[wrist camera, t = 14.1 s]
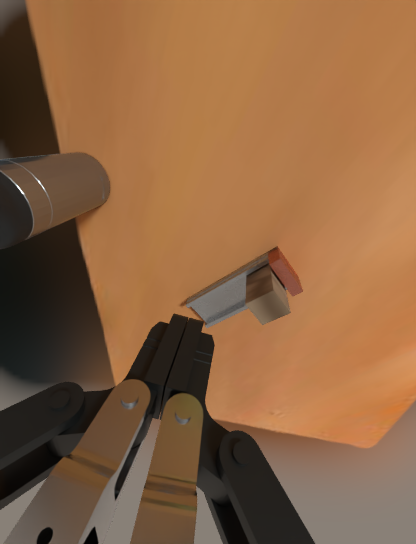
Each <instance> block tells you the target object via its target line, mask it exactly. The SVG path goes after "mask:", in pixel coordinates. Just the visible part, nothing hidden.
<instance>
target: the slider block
mask: <svg viewBox="0 0 416 544" xmlns="http://www.w3.org/2000/svg"><path fill="white" fill-rule="evenodd" d="M245 305H246V306H247V307H248V308H249V309H250V311H251V312H252V313H253V314H254V315H255V317H256V318H257V319H258V320H259V321H260V323H261V324H262V325H264V324H266V323H268V322H271V321H273V320H275V319H278V318H280V317H282V316H285V315H287V314H289V313H291V312H290V308H289V303H288V299H287V294H286V289H285V286H284V284H283V283H282V281H281V280H280V279H279V277H278V276H277V275H276V273H275V272H274V270H273V269H272V268H271V266H270V265H269V263H268V264H266V265H264V266H262V267H260V268H259V269H257V270H255V271H253V272H251V273H250V274H248V275H246V299H245Z"/></svg>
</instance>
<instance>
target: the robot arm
mask: <svg viewBox="0 0 416 544" xmlns="http://www.w3.org/2000/svg"><path fill="white" fill-rule="evenodd" d="M109 193H110V183H109V179H108V176H107V174H106V172H105V170H104V168H103V167H102V166H101V164H100V163H99V162H98V161H97V160H96V159H94V158H93V157H91V156H89V155H87V154H84V153H66V154H54V155H43V156H32V157H22V158H11V159H1V160H0V249H4V248H8V247H10V246H13V245H15V244H18V243H20V242H22V241H24V240H26V239H29V238H31V237H33V236H35V235H37V234H39V233H42V232H44V231H46V230H48V229H50V228H52V227H54V226H57V225H59V224H61V223H63V222H65V221H67V220H70V219H72V218H74V217H76V216H79V215H81V214H83V213H85V212H87V211H90V210H92V209H94V208H96V207H98V206H100V205H102V204H104V203H105V202H106V200H107V199H108V196H109ZM203 323H204V321H200V320H196V319H193V318H189V320H188V317H185V316H181V315H177V314H173V316H172V318H171V320H170V323H169V324H168V323H164V322H159V323H157V324H156V325H155V326H154V327H152V329H151V330H150V332H149V334H148V336H147V339H146V340H145V342H144V344H143V346H142V348H141V350H140V351H139V353H138V355H137V357H136V359H135V361H134V363H133V365H132V367H131V369H130V371H129V373H128V374H127V376H126V378H125V379H124V380H123V381H122V382H121V383H119V384H118V385H117V386H115V387H113V388H111V389H108V390H103V391H87V392H83V389H82V388H81V387H80V386H79V385H78V384H76V383H72V382H64V383H59V384H56V385H54V386H52V387H50V388H48V389H46V390H44V391H42V392H39V393H37V394H35V395H33V396H31V397H29V398H27V399H25V400H23V401H21V402H19V403H17V404H14V405H12V406H10V407H8V408H6V409H4V410H2V411H0V510H1V509H2V508H4V507H5V506H7V505H8V504H9V503H11V502H12V501H14V500H15V499H17V498H18V497H20V496H21V495H22V494H24V493H25V492H27V491H28V490H30V489H31V488H32V487H34V486H35V485H37V484H38V483H40V482H41V481H43V480H44V479H46V478H47V479H46V480H45V482H44V483H43V485H42V486H41V488H40V489H39V491H38V492H37V494H36V496H35V497H34V498H33V500H32V501H31V503H30V504H29V506H28V507H27V509H26V510H25V512H24V513H23V515H22V516H21V518H20V519H19V521H18V522H17V524H16V525H15V527H14V528H13V530H12V531H11V533H10V534H9V536H8V537H7V539H6V540H5V542H4V543H3V544H103V542H104V540H105V537H106V535H107V532H108V530H109V528H110V525H111V522H112V519H113V517H114V514H115V510H116V507H117V504H118V501H119V499H120V496H121V493H122V492H123V489H124V487H125V485H126V482H127V480H128V478H129V475H130V473H131V470H132V468H133V466H134V463H135V461H136V459H137V456H138V454H139V452H140V449H141V447H142V445H143V442H144V440H145V437H146V435H147V432H148V429H149V427H150V424H151V421H152V418H155V419H159V415H160V412H161V416H160V420H161V423H160V427H159V431H158V435H157V439H156V443H155V448H154V451H153V456H152V460H151V464H150V468H149V472H148V476H147V480H146V483H145V486H144V490H143V494H142V498H141V501H140V505H139V509H138V513H137V518H136V521H135V526H134V529H133V533H132V538H131V542H130V544H194V536H195V524H196V513H197V493H196V486H197V487H198V488H200V489H201V490H202V491H203V492H204V494H205V497H206V500H207V503H208V505H209V508H210V510H211V513H212V516H213V518H214V521H215V524H216V526H217V529H218V532H219V534H220V537H221V540H222V542H223V544H315V543H314V541H313V539H312V537H311V536H310V534H309V532H308V531H307V529H306V527H305V526H304V524H303V522H302V520H301V519H300V517H299V515H298V513H297V512H296V510H295V508H294V507H293V505H292V503H291V501H290V500H289V498H288V496H287V495H286V493H285V491H284V489H283V488H282V486H281V484H280V482H279V481H278V479H277V477H276V476H275V474H274V472H273V471H272V469H271V467H270V465H269V463H268V462H267V460H266V458H265V457H264V455H263V453H262V451H261V450H260V448H259V446H258V445H257V443H256V442H255V440H254V439H253V438H252V437H251V436H250V435H248V434H247V433H245V432H243V431H232V432H229V431H227V430H226V429H225V428H223V427H222V426H220V425H219V424H218V423H216V422H215V421H214V420H213V419H212V418H211V416H210V415H209V413H208V411H207V409H206V405H205V396H206V390H207V385H208V379H209V373H210V368H211V362H212V356H213V351H214V341H213V338H212V335H209V334H205V333H202V332H201V331H202V327H203ZM161 409H162V410H161Z"/></svg>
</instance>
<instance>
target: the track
mask: <svg viewBox="0 0 416 544" xmlns="http://www.w3.org/2000/svg"><path fill="white" fill-rule="evenodd" d="M268 263H269V265H270V266H271V268H272V269H273V270H274V272H275V273H276V275H277V276H278V277H279V279H280V280H281V281H282V283H283V284H284V286H285V289H286V290H288V291H289V292H290V294H291V295H292V296H295V295H297V294H299V293H301V292H303V289H302V286H301V283H300V280H299V277H298V275H297V274H296V273H295V271H294V270H293V268H292V267H291V265H290V264H289V262H288V261H287V260H286V258H285V257H284V255H283V254H282V252H281V251H280V249H279V248H278V246H277V247H275V248H274V249H272V250H270V251H268V252H267V253H265V254H263V255H262V256H260V257H258V258H256V259H255V260H253V261H251V262H249V263H248V264H246V265H244V266H243V267H241V268H239V269H237V270H236V271H234V272H232V273H231V274H229V275H227V276H225V277H224V278H222V279H220V280H219V281H217V282H215V283H213V284H212V285H210V286H208V287H206V288H205V289H203V290H201V291H200V292H198V293H196V294H194V295H193V296H191V297H189V298H188V299H187V303H186V306H187V307H188V308H189V307H192V308H193V309H194V310H195V311H196V312H197V313H198V314H199V315H200V316H201V317H202V319H203V320H204V321H205V322H206V323H205V326H206V327H207V328H208V327H210V326H212V325H214V324H217V323H219V322H221V321H223V320H225V319H227V318H229V317H231V316H233V315H235V314H237V313H239V312H241V311H243V310H245V309H247V308H248V307H247V306H246V305H245V299H246V275H248V274H250V273H251V272H253V271H255V270H257V269H259V268H260V267H262V266H264V265H266V264H268Z"/></svg>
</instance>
